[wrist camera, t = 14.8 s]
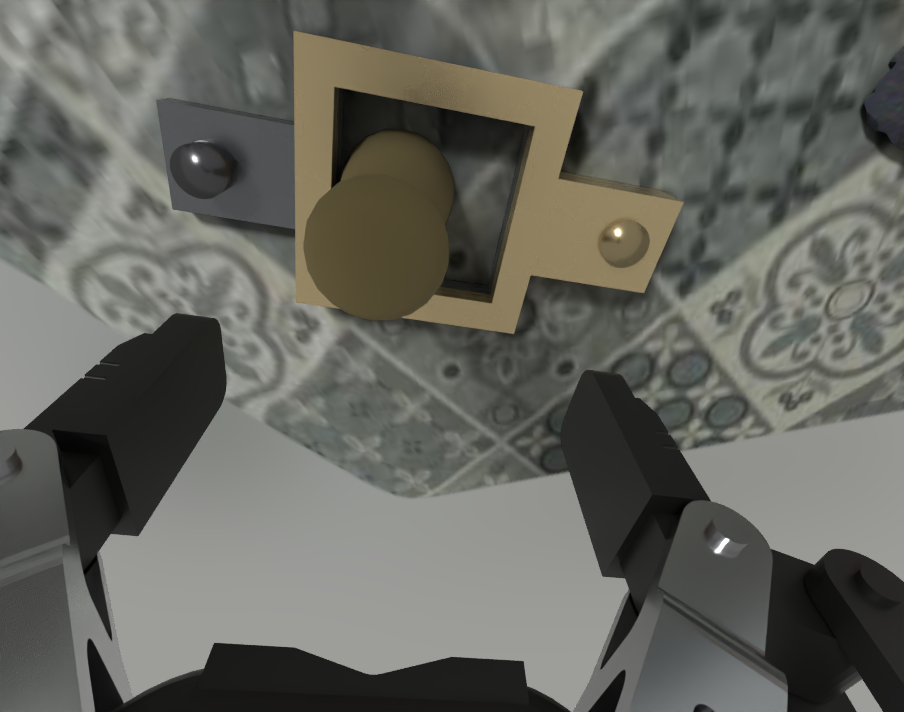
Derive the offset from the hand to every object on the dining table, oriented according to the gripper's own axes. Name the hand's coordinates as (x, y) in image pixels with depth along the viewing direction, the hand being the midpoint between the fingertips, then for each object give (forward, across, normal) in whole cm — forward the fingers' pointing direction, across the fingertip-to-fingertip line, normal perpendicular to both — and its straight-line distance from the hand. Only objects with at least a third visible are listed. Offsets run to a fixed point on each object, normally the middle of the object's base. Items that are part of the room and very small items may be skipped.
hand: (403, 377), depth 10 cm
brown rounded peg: (+17, +1, 0) cm, 17 cm away
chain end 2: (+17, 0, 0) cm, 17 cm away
